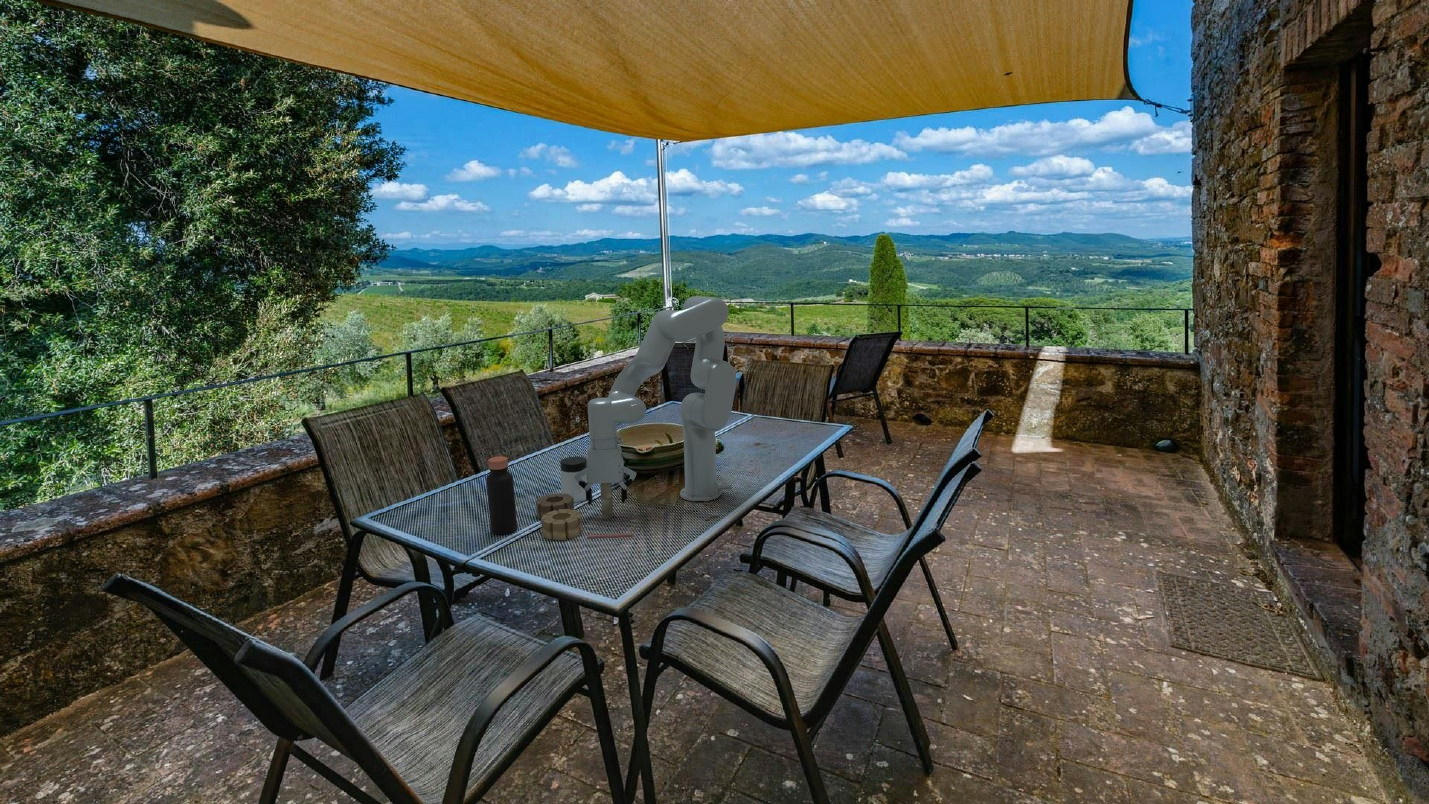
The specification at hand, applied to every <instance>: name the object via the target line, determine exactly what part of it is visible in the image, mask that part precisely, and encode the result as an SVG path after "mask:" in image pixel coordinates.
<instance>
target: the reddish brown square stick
mask: <svg viewBox="0 0 1429 804" xmlns="http://www.w3.org/2000/svg"><path fill="white" fill-rule="evenodd" d="M634 535H635V534H634V533H618V534H617V533H616V534H615V533H614V534H593V535H586V539H604V538H606V539H607V538H626V537H628V538H629V537H630V538H631V537H634Z"/></svg>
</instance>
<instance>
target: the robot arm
mask: <svg viewBox="0 0 1429 804" xmlns="http://www.w3.org/2000/svg"><path fill="white" fill-rule="evenodd" d="M682 308H683V309H681V310H673V309H663V310H660V311H658V312H656V314H655V315H654V317H653V318H652V320H651V322H650V325H649V326H648V329H647V330H646V334H645V335H644V337H643V339H642V342H641V344H640V345H639V347H638V350H637V352H636V354H635V355H634V356H633V358H632V359H631V360H630V361H629V362H628V363H627V364H626V365H625V367H624V368H623V369H622V370H621V371H620V372H619V374H618V375H617V376H616V379H615V380H614V383H613V385H612V387H611V388H610V391H609V394H608V396H607V397H597V398H596V397H595V398H592V399H590V400H589V401H588V403H587V414H588V415H587V416H588V417H587V419H588V434H589V446H588V447H587V453H586V458H587V468H585V469H584V470H582V471H580V472H579V473H577V474H575V476H574V478H575V479H576V481H577V482H578V483H579V485H580V486H581V487H582V488H583V489H584V490H585V491H586V500H585V501H586V502H588V503H587V504H588V505H589V506H590V505H592V503H593V489H592V488H591V487H592V486H593V485H600V484H605V483H612V484H618V485H619V486H620V487H621V491H620V493H621V494H620V495H621V496H620V497H621V504H625V503H626V502H625V501H626V500H627V499H628V488H629V487H630V486H631V485H632V483H633V481H635V478H636V476H637V472H636V471H634V470H632V469H630V468H629V467H626V466H625V464H624V457H623V451H622V447H621V445H619V444H622V443H623V442H624V441H623V440H624V438H623V437H619V436H618V426H617V425H618V424H620V425H621V424H623V425H624V424H625V425H628V424H629V425H631V424H636V423H639V422H641V421H642V420H643V419H644V418H645V417H646V414H647V407H646V403H644V401H643V399H640V398H638V397H637V396H635V395H636V393H637V391H638V389H639V388H640V386H641V385H642V384H643V383H644V382H645V381H646V380H648V379H649V378H651V377H652V376H654V375H656V374H658V373H660V372H661V371H662V370H664V368H665V365H666V363H667V361H668V359H669V357H670V354H671V353H672V350H673V348H674V346H675V344H676V342H677V343H685V342H689V341H692V340H694V339H695V346H694V352H693V359H692V363H691V364H692V365H691V369H690V380H691V383H692V384H693V385H694V386H695V387H697V388H699V389H701V390H704V393H703V392H692V393H689V394H687V395H686V396H685V397H684V398H683V400H682V401H681V404H680V409H679V413H680V414H679V415H680V419H681V425H682V431H683V432H682V433H683V453H684V454H683V456H684V457H683V458H684V460H683V461H684V462H683V463H684V488H682V489H681V490H680V491H679V493H680V495H679V496H680V497H681V498H682V499H684V500H686V501H689V502H695V501H704V502H709V501H710V500H711V501H714V500H716V499H715V498H717V499H719V498H720V497H721V496H722V494H721V493H722V490H733V489H732V487H733V486H732V485H733V484H732V482H727V481H719V480H718V477H717V451H716V446H717V445H716V444H717V443H716V433H715V432H717V431H719V432H720V431H721V430H722V429H724V428H725V427H726V426H727V425H728V423H729V421H730V418H731V416H732V415H731V414H732V410H733V405H734V404H733V403H734V399H735V393H736V388H737V381H738V380H737V373H736V369H735V368H734V366H733V365H732V364H731V363H729V362H728V361H725V360H723V359H724V353H725V352H724V351H725V344H726V343H725V342H726V340H725V339H726V337H725V332H724V328H723V325H724V324H725V323H726V322H727V319H728V317H729V313H730V311H729V307H728V304H727V303H726V302H725V301H724V300H723V299H721V298H720V297H717V296H716V297H714V296H704V295H695V296H694V295H693V296H689V297H688V298H687V299H685V301H684V303H683V307H682ZM623 444H624V443H623ZM585 474H587V481H588V482H587V483H586V482H585V481H583V480H582V478H581V477H582V476H584V475H585ZM625 474H627V475H628V476H629V478H628V479H627V480H626V479H625V478H624V477H625ZM720 495H721V496H720ZM719 496H720V497H719ZM718 497H719V498H718ZM713 499H714V500H713ZM711 501H710V502H711Z"/></svg>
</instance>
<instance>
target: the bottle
mask: <svg viewBox="0 0 1429 804" xmlns="http://www.w3.org/2000/svg"><path fill="white" fill-rule="evenodd" d="M487 463H488V470H489V471H490V473H489V474H488V476H486V478H485V483H486V492H487V503H488V514H489V524H490V532H491V533H492V534H493V533H494V534H493V535H496V534H497V536H503V535H502V534H504V535H508V533H509V534H512V533H514V532H515V531H516V530H517V529H518V520H517V518H518V517H517V509H516V499H515V498H516V497H515V487H514V485H515V484H514V476H513V474H512V473H511V472H510V471H508V469H509V459H508V457H507V456H494V457H490V458H488V459H487Z"/></svg>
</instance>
